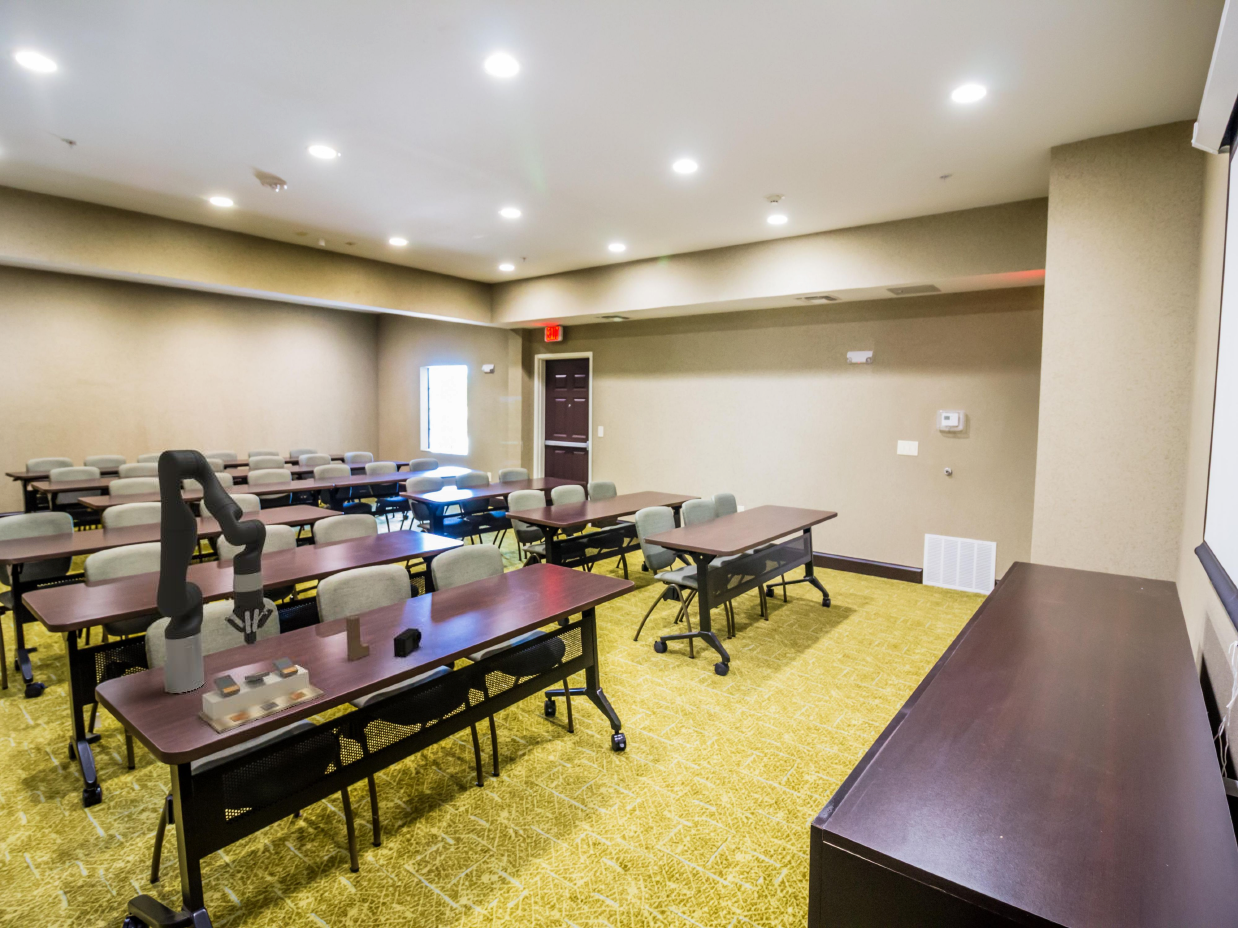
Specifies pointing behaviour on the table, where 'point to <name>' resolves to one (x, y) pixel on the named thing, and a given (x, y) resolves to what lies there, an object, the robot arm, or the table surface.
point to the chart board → (262, 709)
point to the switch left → (226, 685)
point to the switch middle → (257, 675)
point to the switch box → (254, 693)
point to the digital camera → (407, 642)
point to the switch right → (285, 667)
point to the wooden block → (355, 639)
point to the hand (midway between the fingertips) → (250, 643)
